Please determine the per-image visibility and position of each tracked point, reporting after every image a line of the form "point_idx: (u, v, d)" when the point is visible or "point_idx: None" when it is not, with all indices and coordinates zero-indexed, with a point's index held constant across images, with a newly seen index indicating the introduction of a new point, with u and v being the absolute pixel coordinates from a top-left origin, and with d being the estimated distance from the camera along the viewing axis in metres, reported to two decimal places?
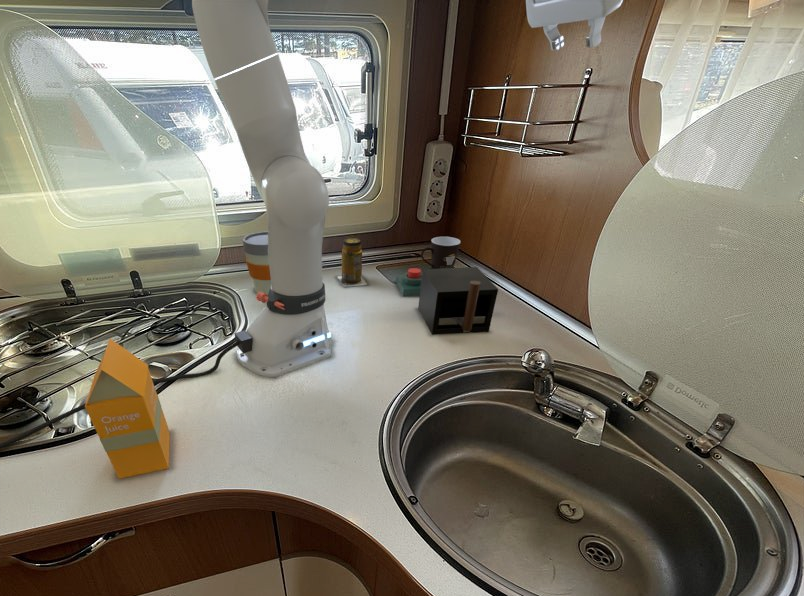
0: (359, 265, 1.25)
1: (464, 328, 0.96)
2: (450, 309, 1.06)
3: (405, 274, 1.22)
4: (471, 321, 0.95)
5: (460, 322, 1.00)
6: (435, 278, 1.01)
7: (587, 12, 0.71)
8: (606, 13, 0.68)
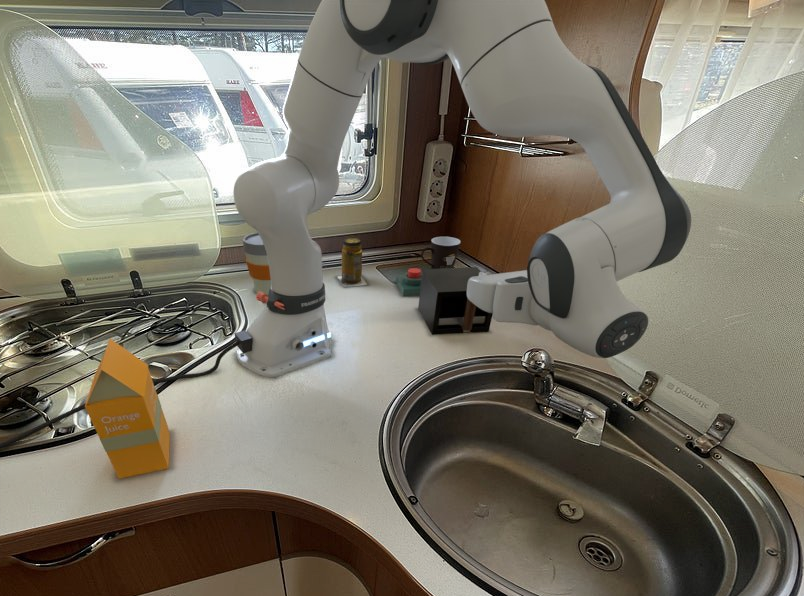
0: (359, 265, 1.25)
1: (464, 328, 0.96)
2: (450, 309, 1.06)
3: (405, 274, 1.22)
4: (471, 321, 0.95)
5: (460, 322, 1.00)
6: (435, 278, 1.01)
7: (490, 275, 0.72)
8: None
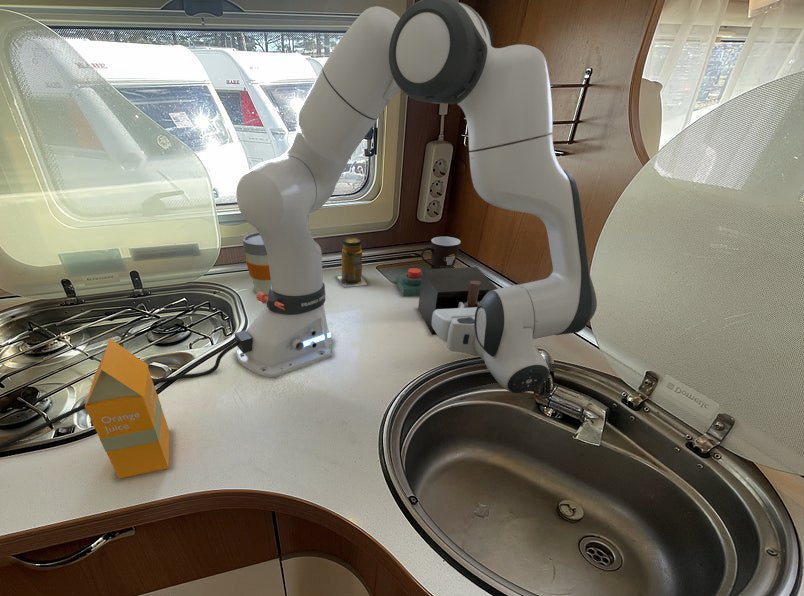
0: (359, 265, 1.25)
1: None
2: None
3: (405, 274, 1.22)
4: None
5: None
6: (435, 278, 1.01)
7: (451, 310, 0.89)
8: (434, 311, 0.89)
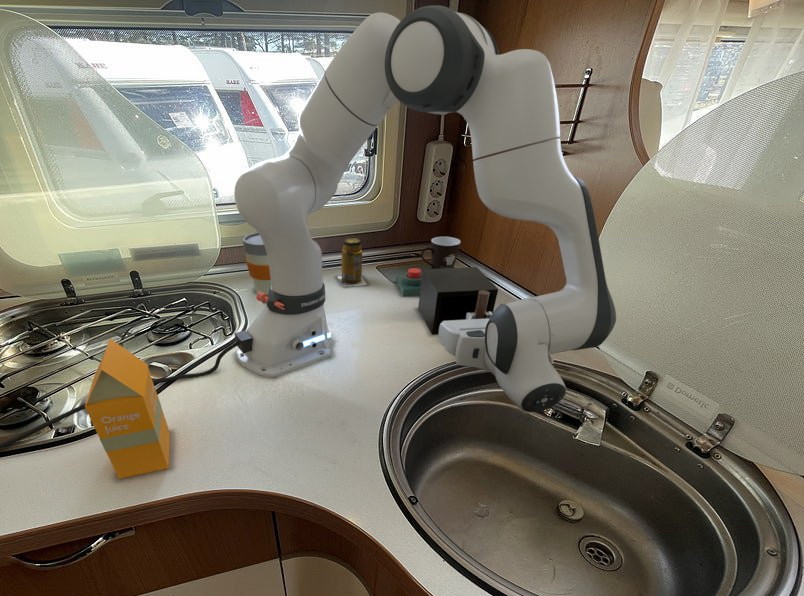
0: (359, 265, 1.25)
1: None
2: (457, 318, 1.02)
3: (405, 274, 1.22)
4: None
5: None
6: (435, 278, 1.01)
7: (459, 321, 0.84)
8: (441, 323, 0.85)
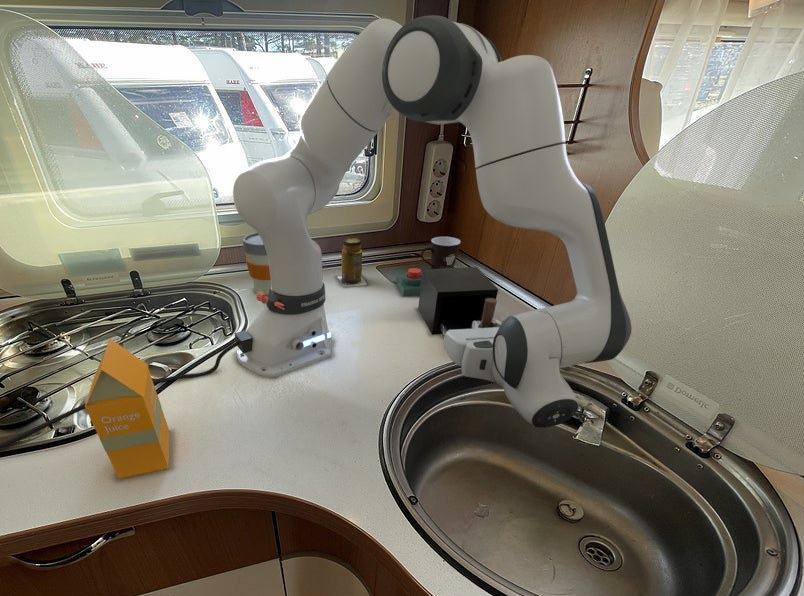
0: (359, 265, 1.25)
1: None
2: (462, 325, 0.99)
3: (405, 274, 1.22)
4: None
5: None
6: (435, 278, 1.01)
7: (465, 331, 0.81)
8: (446, 332, 0.82)
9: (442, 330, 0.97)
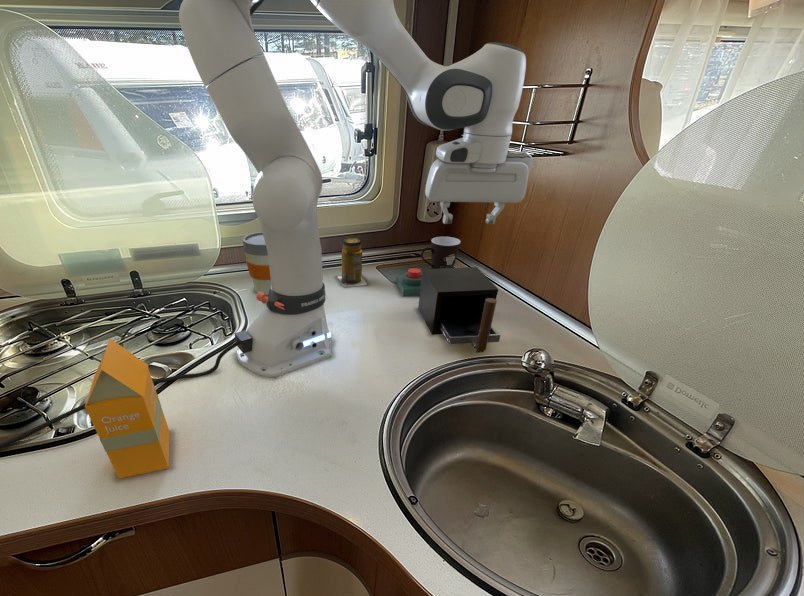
0: (359, 265, 1.25)
1: (478, 348, 0.89)
2: (462, 325, 0.99)
3: (405, 274, 1.22)
4: (485, 341, 0.88)
5: (473, 341, 0.92)
6: (435, 278, 1.01)
7: None
8: (426, 195, 0.88)
9: (442, 330, 0.97)
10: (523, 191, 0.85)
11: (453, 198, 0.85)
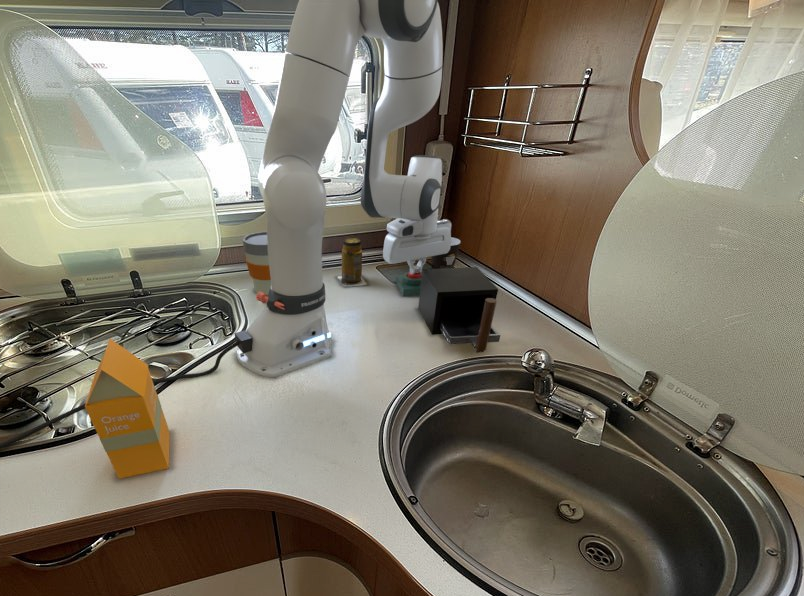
0: (359, 265, 1.25)
1: (478, 348, 0.89)
2: (462, 325, 0.99)
3: (405, 274, 1.22)
4: (485, 341, 0.88)
5: (473, 341, 0.92)
6: (435, 278, 1.01)
7: None
8: (384, 259, 1.15)
9: (442, 330, 0.97)
10: (449, 245, 1.18)
11: (405, 259, 1.14)
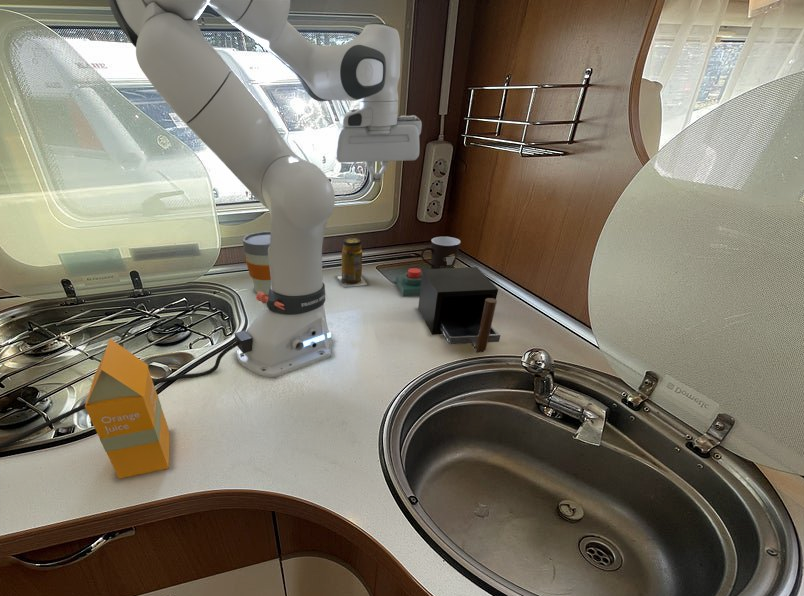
0: (359, 265, 1.25)
1: (478, 348, 0.89)
2: (462, 325, 0.99)
3: (405, 274, 1.22)
4: (485, 341, 0.88)
5: (473, 341, 0.92)
6: (435, 278, 1.01)
7: None
8: None
9: (442, 330, 0.97)
10: (416, 150, 1.01)
11: (357, 158, 1.01)
